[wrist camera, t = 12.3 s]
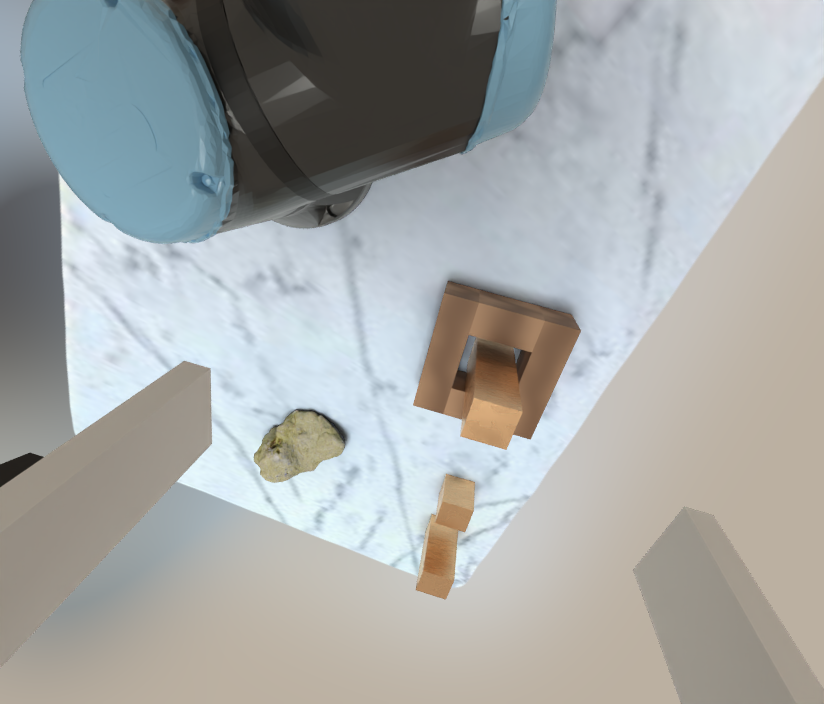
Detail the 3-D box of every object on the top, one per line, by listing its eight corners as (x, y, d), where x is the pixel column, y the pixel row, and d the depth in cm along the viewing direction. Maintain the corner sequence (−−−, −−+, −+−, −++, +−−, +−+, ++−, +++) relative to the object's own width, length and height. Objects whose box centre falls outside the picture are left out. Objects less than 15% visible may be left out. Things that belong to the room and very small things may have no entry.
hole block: (419, 385, 48) (413, 405, 44) (448, 280, 42) (443, 293, 38) (526, 416, 48) (530, 439, 44) (571, 314, 42) (580, 330, 38)
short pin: (439, 494, 55) (434, 523, 51) (446, 473, 54) (442, 501, 49) (466, 502, 55) (464, 532, 51) (474, 481, 53) (473, 510, 49)
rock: (355, 425, 54) (288, 392, 52) (347, 460, 49) (271, 425, 46) (322, 470, 59) (259, 442, 57) (311, 506, 54) (241, 477, 51)
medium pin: (425, 532, 59) (415, 589, 51) (431, 513, 57) (423, 570, 49) (451, 540, 59) (445, 599, 51) (458, 522, 57) (454, 580, 49)
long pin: (467, 362, 46) (460, 436, 34) (477, 332, 44) (474, 397, 32) (500, 372, 46) (506, 449, 33) (512, 342, 44) (522, 411, 32)
